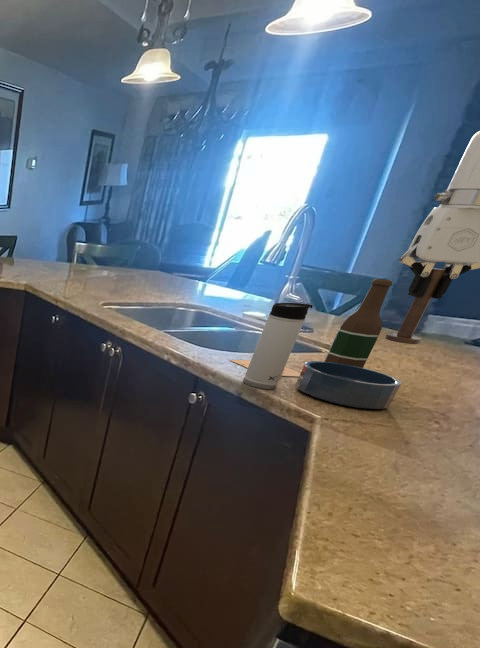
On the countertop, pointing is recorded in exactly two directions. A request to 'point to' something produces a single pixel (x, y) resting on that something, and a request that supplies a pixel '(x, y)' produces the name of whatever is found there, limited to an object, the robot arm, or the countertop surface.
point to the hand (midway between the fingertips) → (424, 296)
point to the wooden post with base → (416, 312)
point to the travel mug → (275, 344)
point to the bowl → (348, 385)
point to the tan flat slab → (285, 373)
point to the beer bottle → (360, 328)
